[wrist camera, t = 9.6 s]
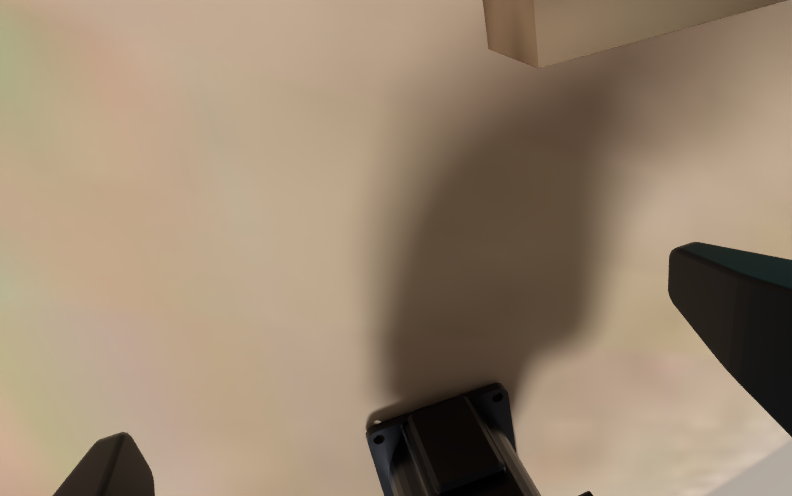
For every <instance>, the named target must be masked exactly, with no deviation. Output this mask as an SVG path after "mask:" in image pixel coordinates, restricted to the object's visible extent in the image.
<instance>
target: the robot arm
mask: <svg viewBox="0 0 792 496" xmlns="http://www.w3.org/2000/svg"><path fill="white" fill-rule="evenodd" d="M668 292H669V296H670V298H671V300H672V302H673V304H674V305H675V306H676V308H677V309H678V310H679V311H680V313H681V314H682V315H683V316H684V318H685V319H686V320H687V321H688V323H689V324H690V325H691V326H692V328H693V329H694V330H695V331H696V333H697V334H698V335H699V336H700V338H701V339H702V340H703V341H704V343H705V344H706V345H707V347H708V348H709V349H710V350H711V352H712V353H713V354H714V355H715V357H716V358H717V359H718V360H719V361H720V363H721V364H722V365H723V366H724V367H725V369H726V370H727V371H728V372H729V373H730V374H731V375H732V376H733V377H734V378H735V379H736V381H737V382H738V383H739V384H740V385H741V386H742V387H743V388H744V389H745V390H746V391H747V392H748V393H749V394H750V395H751V396H752V397H753V398H754V399H755V400H756V401H757V402H758V403H759V404H760V405H761V406H762V407H763V408H764V409H765V410H766V411H767V412H768V413H769V414H770V415H771V416H772V417H773V418H774V419H775V420H776V421H777V422H778V424H779V425H780V426H781V427H782V428H783V429H784V430H785V431H786V432H787V433H788V434H789V435H790V436H791V437H792V260H789V259H784V258H778V257H773V256H768V255H763V254H758V253H752V252H747V251H742V250H737V249H731V248H726V247H721V246H716V245H711V244H705V243H700V242H692V243H689V244H686V245H683V246H680V247H677V248H675V249H673V250H672V251H671V253H670V256H669V278H668ZM497 393H498V394H497ZM495 394H497V395H496V396H494V395H495ZM378 435H381V436H380V437H377V438H375V437H376V436H378ZM366 438H367V442H368V445H369V448H370V451H371V455H372V458H373V461H374V464H375V467H376V471H377V474H378V477H379V480H380V483H381V487H382V490H383V493H384V496H541V495H540V493H539V491H538V490H537V488H536V486H535V485H534V483H533V481H532V479H531V478H530V476H529V474H528V473H527V471H526V469H525V468H524V466H523V464H522V462H521V461H520V459H519V457H518V456H517V454H516V448H515V441H514V434H513V427H512V419H511V412H510V405H509V398H508V393H507V391H506V389H505V388H504V386H503V385H502V384H500V383H493V384H490V385H487V386H485V387H482V388H479V389H476V390H473V391H470V392H467V393H465V394H462V395H459V396H456V397H453V398H450V399H447V400H445V401H442V402H439V403H436V404H433V405H430V406H427V407H425V408H422V409H419V410H416V411H413V412H410V413H407V414H405V415H402V416H399V417H396V418H393V419H390V420H387V421H385V422H382V423H379V424H376V425H374V426H372V427H370V428H369V429H368V430H367V432H366ZM53 496H155V491H154V480H153V475H152V472H151V469H150V467H149V465H148V464H147V462H146V460H145V459H144V457H143V455H142V454H141V452H140V450H139V448H138V447H137V445H136V443H135V442H134V440H133V438H132V437H131V436H130V435H129V434H128V433H125V432H121V433H118V434H115V435H112V436H109V437H106V438H103V439H100V440H98V441H97V442H96V443H95V444H94V445H93V446H92V447H91V448H90V450H89V451H88V452H87V453H86V455H85V456H84V457H83V458H82V460H81V461H80V462H79V463H78V465H77V466H76V467H75V468H74V470H73V471H72V472H71V473H70V475H69V476H68V477H67V478H66V480H65V481H64V482H63V483H62V485H61V486H60V487H59V488H58V490H57V491H56V492H55V493H54V495H53ZM579 496H593V495H592V494H591V492H590V491H587V492H585V493H583V494H581V495H579Z"/></svg>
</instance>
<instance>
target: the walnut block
mask: <svg viewBox="0 0 792 496" xmlns="http://www.w3.org/2000/svg"><path fill="white" fill-rule="evenodd" d="M783 1H786V0H483V5H484V14H485V23H486V32H487V41H488V49H490V50H492V51H495V52H498V53H500V54H503V55H505V56H508V57H511V58H513V59H516V60H518V61H521V62H523V63H526V64H529V65H531V66H534V67H536V68H542V67H546V66H549V65H553V64H557V63H560V62H564V61H567V60H571V59H575V58H578V57H582V56H586V55H589V54H593V53H597V52H600V51H604V50H608V49H611V48H615V47H619V46H622V45H626V44H629V43H633V42H637V41H640V40H644V39H648V38H651V37H655V36H659V35H662V34H666V33H670V32H673V31H677V30H681V29H684V28H688V27H691V26H695V25H699V24H702V23H706V22H710V21H713V20H717V19H721V18H724V17H728V16H732V15H735V14H739V13H743V12H746V11H750V10H753V9H757V8H761V7H764V6H768V5H772V4H775V3H779V2H783Z"/></svg>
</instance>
